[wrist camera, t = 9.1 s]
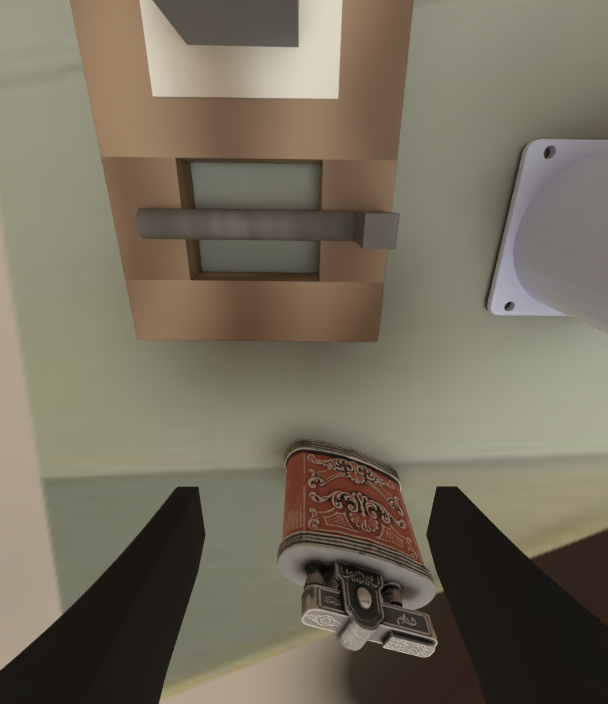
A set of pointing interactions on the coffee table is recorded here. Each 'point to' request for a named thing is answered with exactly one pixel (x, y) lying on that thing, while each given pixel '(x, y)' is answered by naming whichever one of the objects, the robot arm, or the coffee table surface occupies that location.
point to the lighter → (354, 549)
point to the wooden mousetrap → (250, 147)
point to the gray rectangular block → (234, 22)
